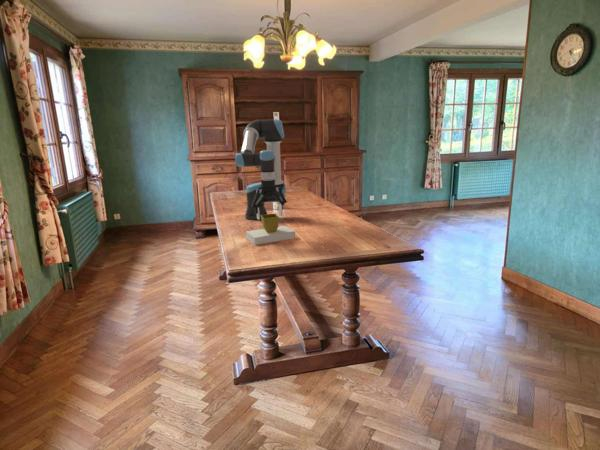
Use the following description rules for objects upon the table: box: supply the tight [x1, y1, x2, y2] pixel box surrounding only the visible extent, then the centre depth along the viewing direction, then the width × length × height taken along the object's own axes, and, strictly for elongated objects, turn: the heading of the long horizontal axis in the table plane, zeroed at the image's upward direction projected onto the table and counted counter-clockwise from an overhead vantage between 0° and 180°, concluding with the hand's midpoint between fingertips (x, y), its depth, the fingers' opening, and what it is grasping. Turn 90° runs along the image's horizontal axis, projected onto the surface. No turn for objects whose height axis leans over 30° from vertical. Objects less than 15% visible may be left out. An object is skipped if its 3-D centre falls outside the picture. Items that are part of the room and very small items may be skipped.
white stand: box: [245, 225, 296, 246], centre depth 217 cm, size 14×24×4 cm, turn 117°
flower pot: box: [260, 213, 280, 233], centre depth 216 cm, size 9×9×9 cm
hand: (269, 217), depth 215 cm, fingers open, 13 cm apart
